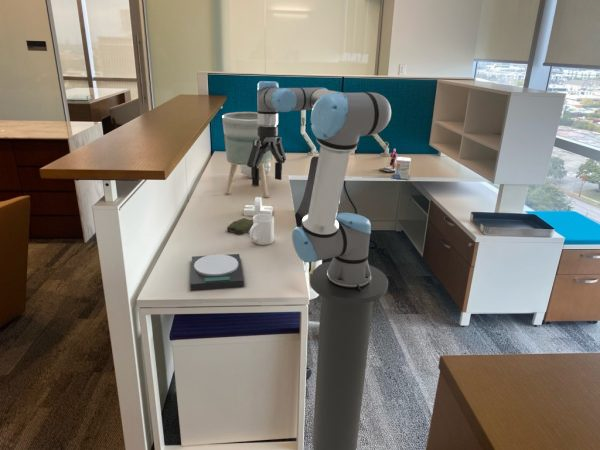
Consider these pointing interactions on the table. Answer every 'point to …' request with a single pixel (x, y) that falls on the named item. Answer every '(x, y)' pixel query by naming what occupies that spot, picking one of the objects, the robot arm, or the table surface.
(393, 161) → the statue
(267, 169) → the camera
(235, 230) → the landmine
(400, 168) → the ink box
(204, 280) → the scale
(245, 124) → the planter
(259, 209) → the slotted bracket
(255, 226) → the mug
